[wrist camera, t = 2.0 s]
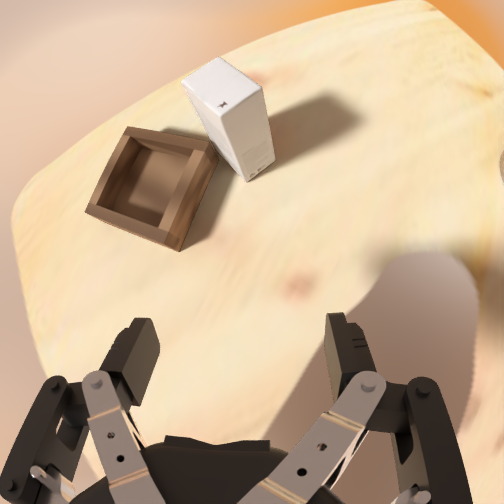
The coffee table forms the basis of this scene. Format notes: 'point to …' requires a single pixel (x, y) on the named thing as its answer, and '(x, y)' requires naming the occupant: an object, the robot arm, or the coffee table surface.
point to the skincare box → (232, 116)
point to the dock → (153, 185)
